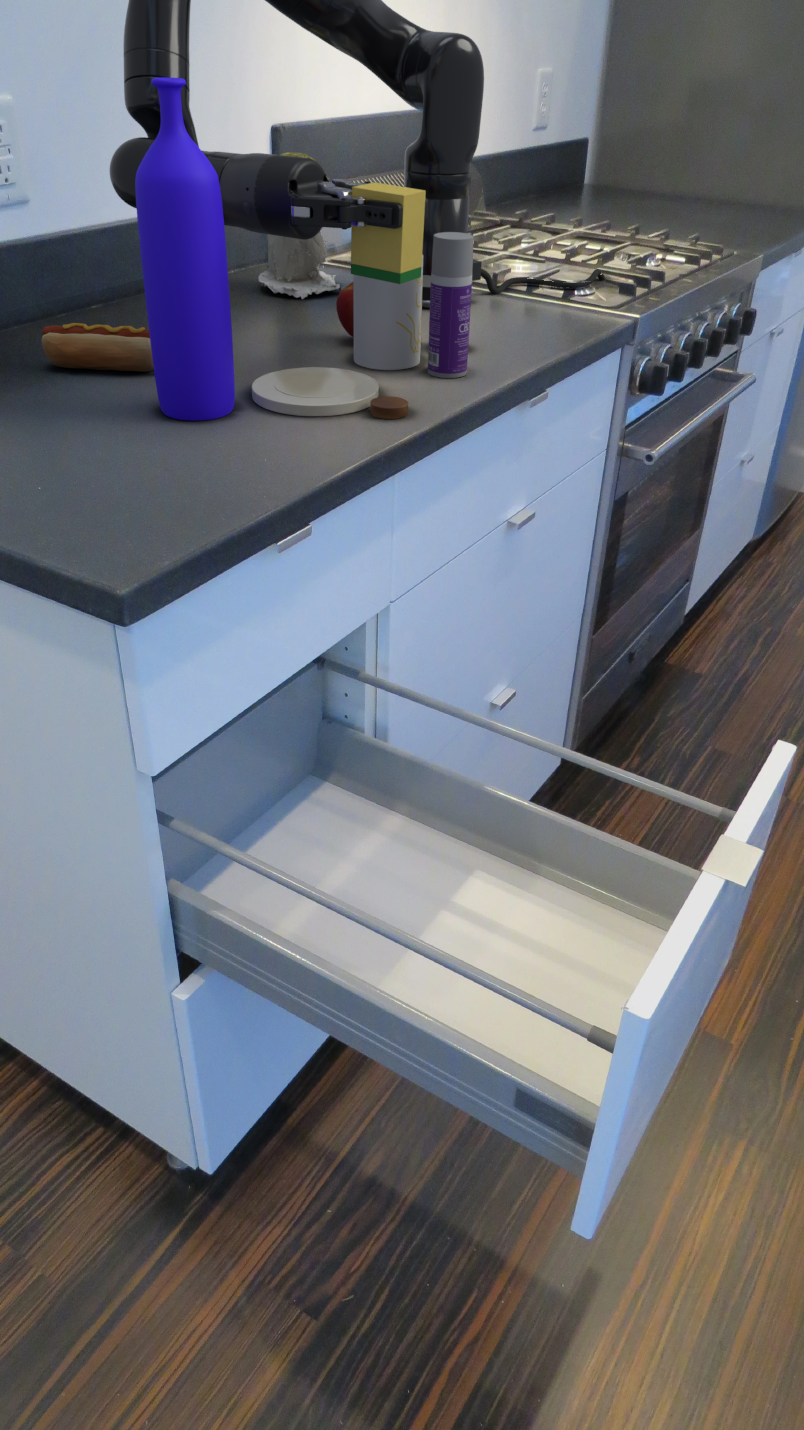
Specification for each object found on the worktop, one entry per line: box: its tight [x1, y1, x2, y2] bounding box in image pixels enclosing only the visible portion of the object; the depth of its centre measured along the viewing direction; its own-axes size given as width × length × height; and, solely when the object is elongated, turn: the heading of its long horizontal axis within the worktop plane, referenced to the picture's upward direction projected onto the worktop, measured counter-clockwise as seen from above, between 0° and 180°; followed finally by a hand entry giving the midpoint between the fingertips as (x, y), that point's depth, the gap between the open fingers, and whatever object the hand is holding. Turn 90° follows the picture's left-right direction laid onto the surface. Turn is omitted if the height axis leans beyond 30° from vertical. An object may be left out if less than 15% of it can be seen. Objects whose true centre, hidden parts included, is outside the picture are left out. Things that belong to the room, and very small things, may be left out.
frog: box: [258, 151, 342, 300], centre depth 152 cm, size 12×13×18 cm
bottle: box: [135, 78, 236, 422], centre depth 101 cm, size 8×8×30 cm
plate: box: [251, 366, 380, 417], centre depth 114 cm, size 14×14×1 cm
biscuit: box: [369, 395, 409, 420], centre depth 110 cm, size 4×4×1 cm
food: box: [41, 322, 154, 373], centre depth 120 cm, size 14×6×5 cm, turn 85°
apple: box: [335, 281, 354, 339], centre depth 131 cm, size 8×8×8 cm
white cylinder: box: [352, 255, 423, 371], centre depth 123 cm, size 8×8×12 cm
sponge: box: [350, 181, 426, 284], centre depth 102 cm, size 4×6×8 cm, turn 57°
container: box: [427, 232, 475, 379], centre depth 119 cm, size 5×5×15 cm
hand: (413, 213), depth 100 cm, fingers closed on sponge, 4 cm apart
